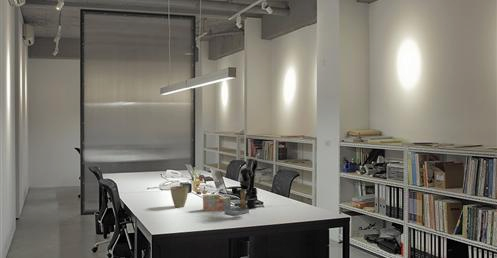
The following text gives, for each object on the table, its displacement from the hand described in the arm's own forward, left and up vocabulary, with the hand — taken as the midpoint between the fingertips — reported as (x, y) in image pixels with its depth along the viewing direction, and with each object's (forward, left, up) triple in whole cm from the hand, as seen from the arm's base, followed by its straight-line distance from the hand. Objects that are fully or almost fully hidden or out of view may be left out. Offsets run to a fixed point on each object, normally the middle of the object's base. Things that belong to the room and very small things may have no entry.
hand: (242, 200), depth 355 cm
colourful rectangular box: (-5, -34, -12) cm, 36 cm away
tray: (-5, -11, -12) cm, 17 cm away
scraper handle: (-1, -1, -7) cm, 7 cm away
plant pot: (+8, -65, -12) cm, 67 cm away
